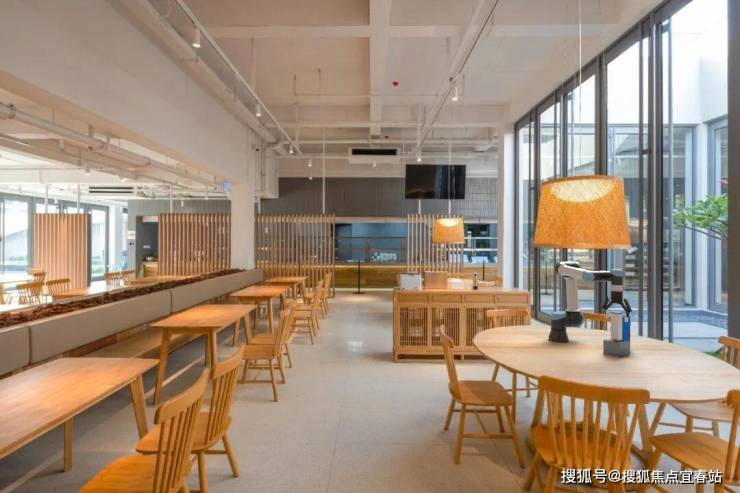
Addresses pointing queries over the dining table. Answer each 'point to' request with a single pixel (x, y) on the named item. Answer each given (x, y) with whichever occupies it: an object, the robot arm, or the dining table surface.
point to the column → (616, 326)
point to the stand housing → (616, 348)
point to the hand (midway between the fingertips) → (616, 320)
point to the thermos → (625, 329)
